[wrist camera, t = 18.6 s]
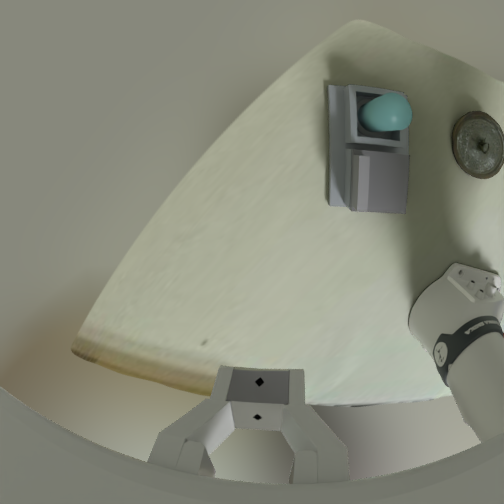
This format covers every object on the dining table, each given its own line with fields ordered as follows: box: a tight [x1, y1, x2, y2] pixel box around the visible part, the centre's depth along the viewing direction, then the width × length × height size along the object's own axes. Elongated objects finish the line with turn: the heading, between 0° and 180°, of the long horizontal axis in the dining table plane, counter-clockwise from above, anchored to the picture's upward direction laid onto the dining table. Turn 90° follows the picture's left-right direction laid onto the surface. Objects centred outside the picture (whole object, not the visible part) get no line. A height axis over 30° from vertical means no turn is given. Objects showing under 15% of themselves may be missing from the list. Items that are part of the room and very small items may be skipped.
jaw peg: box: [357, 93, 412, 132], centre depth 25 cm, size 4×4×8 cm
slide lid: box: [350, 149, 410, 214], centre depth 27 cm, size 7×7×3 cm
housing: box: [327, 84, 409, 209], centre depth 29 cm, size 16×11×4 cm
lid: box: [452, 111, 504, 179], centre depth 26 cm, size 11×10×5 cm
